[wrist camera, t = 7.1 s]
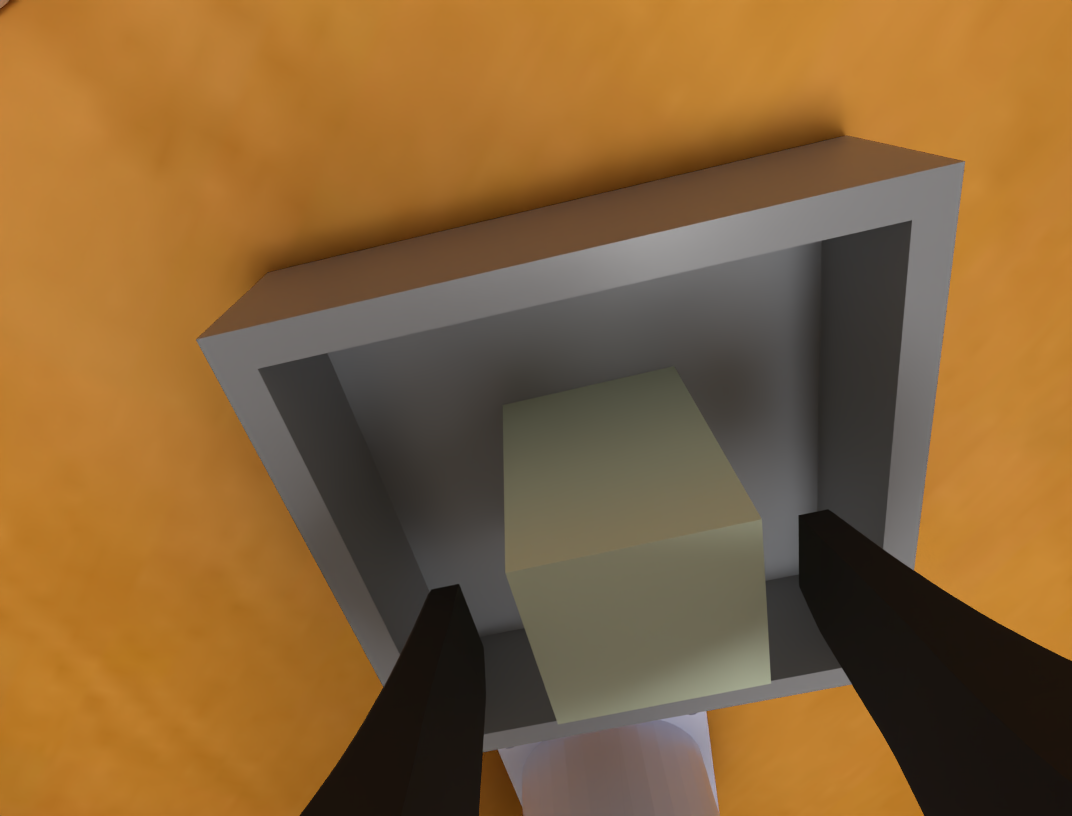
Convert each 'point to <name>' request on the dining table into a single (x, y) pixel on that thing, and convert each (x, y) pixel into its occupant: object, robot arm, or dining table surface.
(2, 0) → the teacup with lid
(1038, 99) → the dining table surface
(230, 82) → the dining table surface
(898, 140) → the dining table surface
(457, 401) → the bin
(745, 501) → the block
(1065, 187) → the dining table surface
